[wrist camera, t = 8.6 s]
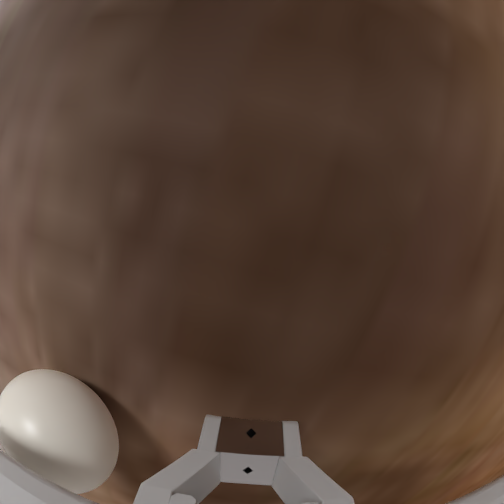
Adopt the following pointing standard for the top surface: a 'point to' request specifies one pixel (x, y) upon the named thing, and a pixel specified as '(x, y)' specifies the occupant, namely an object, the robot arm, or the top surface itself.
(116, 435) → the white ping pong ball
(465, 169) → the top surface
